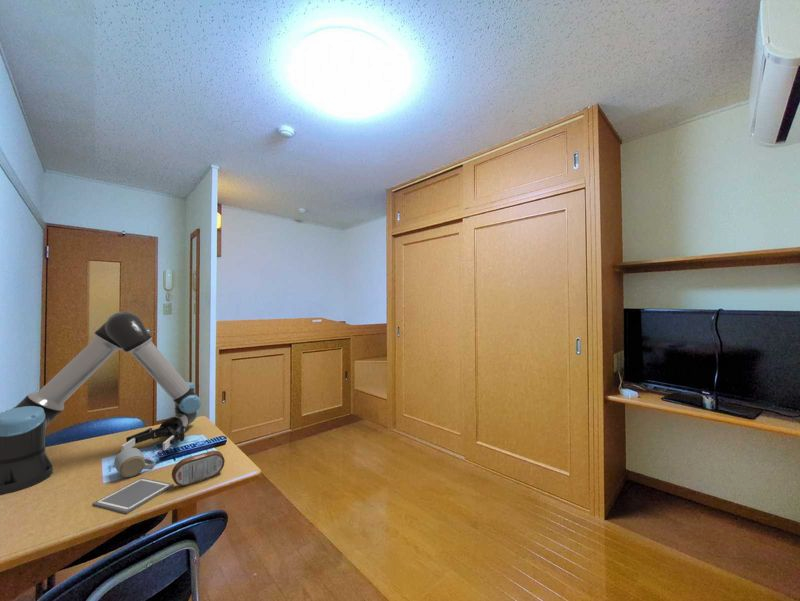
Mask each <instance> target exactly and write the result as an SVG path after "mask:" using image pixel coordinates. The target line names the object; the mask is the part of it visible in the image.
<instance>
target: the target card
mask: <svg viewBox="0 0 800 601" xmlns="http://www.w3.org/2000/svg"><path fill="white" fill-rule="evenodd" d="M174 487H175V483H170V482H165V481H160V480H154V479H152V478H151V479H150V478H146V477H145V478H144V477H141V478H138V479H137V480H134V481H132V482H131V483H129V484H126V485H125V486H123V487H121V488H118V489H117V490H115V491H113V492H111V493H110V494H108V495H105V496H104V497H102V498H100V499H97V500H96V501H94V502H93V503H91V505H92V506H94V507H99V508H101V507H102V509H106V510H109V509H110V511H112V512H113V511H114V512H118V513H122V514H124V515H125V514H126V515H128V514H129V513H131V512H132V511H134V510H136V509H138V508H140V507H141V506H143V505H144V504H146V503H148V502H149V500H150V501H151V500H153V499H155V498H156V497H158V496H159V495H158V494H160V493H161V494H163V493H164V491H165V492H166V491H168V490H170V489H172V488H174ZM169 488H170V489H169ZM167 489H168V490H167ZM162 492H163V493H162ZM161 494H160V495H161ZM157 495H158V496H157ZM155 496H156V497H155ZM154 497H155V498H154ZM152 498H153V499H152Z"/></svg>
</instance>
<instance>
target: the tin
mask: <svg viewBox="0 0 800 601" xmlns="http://www.w3.org/2000/svg"><path fill="white" fill-rule="evenodd" d="M225 462H226V461H225V458H224V455H223V453H222V452H220V451H218V450H210V451H207V452H203V453H199V454H195V455H192V456H188V457H185V458H183V459H181V460H179V461H178V462H177V463H175V465H174V467H173V468H172V471H171V478H172V480H173V482H174V484H176V485H177V486H180V487H181V486H182V487H183V486H185V487H187V486H189V485H191V484H195V483H198V482H201V481H204V480H208V479H211V478H213V477H216V476H217V475H218V474H219V473H220V472H222V470H223V468H224V466H225Z"/></svg>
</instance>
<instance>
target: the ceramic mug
mask: <svg viewBox="0 0 800 601" xmlns="http://www.w3.org/2000/svg"><path fill="white" fill-rule="evenodd" d="M155 465H156V462H155V461H154V460H152V459H150V458H147V457H146V458H145V457H144V454H143V453H142V451H141V450H140V449H138V448H136V447H132V448H128V449H126V450H123V451H122V452H121V451H120V452H119V453H118V454H117V456H116V457H115V458H114V467H115V469H116V470H117V472H118V473H119V475H120V476H121V477H123V478H132V477H136V476H137V475H139V474H140V473H141V472H142V471H143V470H151V469H153V468H154V467H155ZM152 467H153V468H152ZM150 468H151V469H150Z"/></svg>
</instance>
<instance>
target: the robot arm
mask: <svg viewBox="0 0 800 601" xmlns="http://www.w3.org/2000/svg"><path fill="white" fill-rule="evenodd" d="M93 337H94V338H93V339H92V340H91V341H90V342H89V343H88V344H87V345H86V346H85V347H84V348H83V349H81V351H80V352H79V353H77V355H75V357H73V359H71V360H70V361H69V362H68V363H67V364H66V365H65V366H64V367H63V368H61V370H59V372H58V373H57V374H55V375H54V376H53V377H52V378H51V379H50V380H49V381H48V382H47V383H46V384H45V385H44V386H42V387H41V389H39V391H37V392H32V393H31V392H30V393H29V394H27V395H26V396H25V397H24V398H23V399H22V400H21V401H20V402H19V403H17V404H16V406H13V407H12V408H10V409H8V410H7V409H6V410H5V411H1V412H0V495H3V493H4V494H8V492H9V493H13V492H16V491H19V490H20V491H21V490H24V489H27V488H30V487H32V486H34V485H36V484H39V483H41V482H43V481H45V480H47V479H48V478H49V477H51V476H52V475H53V473H54V467H53V464H52V461H51V460H50V459H49V456H48V455H47V453H46V436H45V435H46V430H47V428H48V426H49V425H50V424H51V423H52V422H53V421H54V420H55V419H56V418H57V417H58V416H59V415H60V414H61V413H62V411H63V410H65V402H66V401H67V400H69V399H70V397H71V396H73V394H74V393H75V392H76V391H77V390H78V389H80V387H81V386H83V385H84V383H85V382H87V380H89V379H90V378H91V376H92V375H94V374H95V373H96V371H97V370H99V369H100V368H101V367H102V366H103V364H105V362H107V361H108V360H109V358H111V357H112V356H113V355H114V353H116V352H117V351H124V352H125V353H127V354H131V355H132V356H133V357H134V358H135V359H136V361H137V362H139V364H140V365H141V366H142V367H143V369H145V370H146V371H147V373H148V374H149V375H150V376H151V377H152V378H153V380H155V382H156V384H158V385H159V386H160V387H161V388H162V390H163V391H164V392H165V393H166V394H167V395H168V396H169V397H170V398H171V399H172V401H173V402H174V414H173V415H171V416H169V417H168V418H167V419H166V420H164V421H163V422H161V424H160V425H159V427H157V428H155V429H153V428H152V427H149V428H147V429H145V430H144V431H140V432H138V433H136V434H132V435H130V436H127V437H126V440H125V441H126V442H125V443H124V444H122V445H121V446H120V448H121V451H120V452H122V451H123V450H126V449H128V448H134V447H135V446H136V444H140V443H142V442H145V441H148V440H151V439H152V440H155V439H159V438H167V439H166V440H164V442H162V451H166V450H167V449H168V448H170V447H171V446H172V445H173V444H174V445H175V444H176V443H178V442H179V441H181V442H183V441H185V433H186V427H187V426H189V425H191V424H192V423H193V422H194V421H195V420H196V419H197V418H198V416H199V409H200V408H201V406H202V401H201V398H200V397H199V396H198V395H197V393H196V392H195V383H194V382H192V381H190V382H189V381H186V380H185V379H184V378H183V376H181V375H180V373H179V372H178V371H177V369H175V368H174V366H173V365H172V364H171V363H170V362H169V361H168V359H167V358H166V357H165V356H164V354H163V353H162V352H161V351H160V350H159V348H158V347H157V346H156V345H155V344H154V343H153V341H152V339H153V337H152V336H151V334H150V333H149V332H148V330H147V329H146V327H145V325H144V323H143V321H142V319H141V318H140V316H138V315H137V314H135V313H132V312H129V311H122V312H116V313H114V314H112V315H111V316H110V317H108V318H107V320H106V321H105V322H104V323H103V324H102V325H101V326H100V327H98V329H97V330H95V332H94V333H93ZM51 474H52V475H51ZM50 475H51V476H50ZM46 478H47V479H46Z"/></svg>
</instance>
